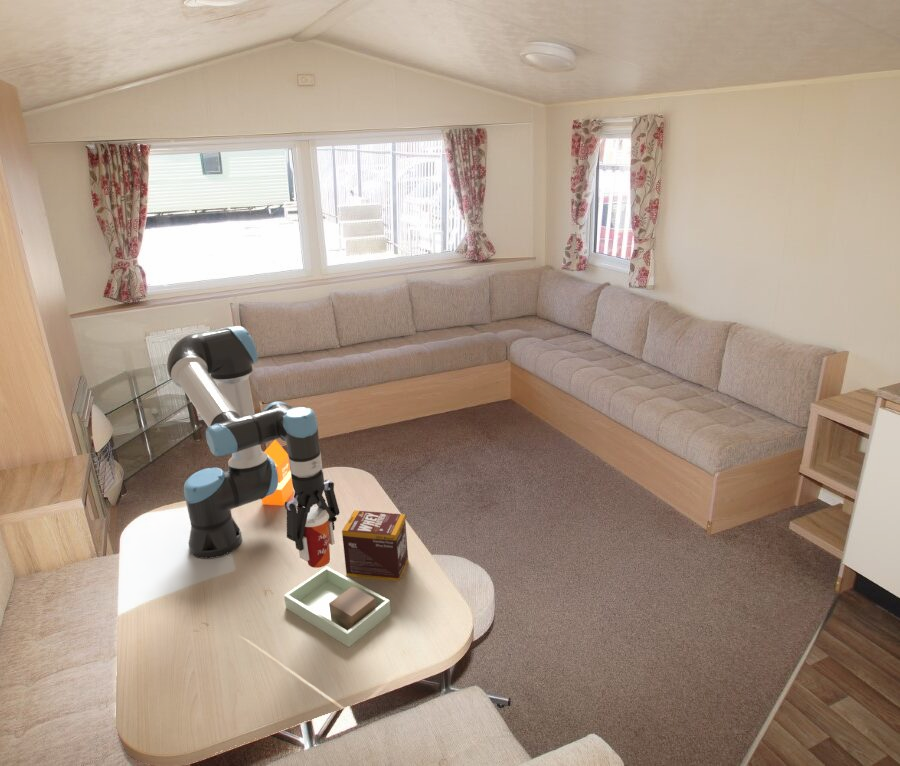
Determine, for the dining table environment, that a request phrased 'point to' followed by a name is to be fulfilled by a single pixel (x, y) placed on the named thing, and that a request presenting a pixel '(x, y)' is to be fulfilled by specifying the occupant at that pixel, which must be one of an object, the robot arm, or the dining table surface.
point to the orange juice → (280, 475)
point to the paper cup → (317, 537)
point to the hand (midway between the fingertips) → (317, 550)
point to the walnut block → (351, 607)
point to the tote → (314, 607)
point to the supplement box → (375, 545)
